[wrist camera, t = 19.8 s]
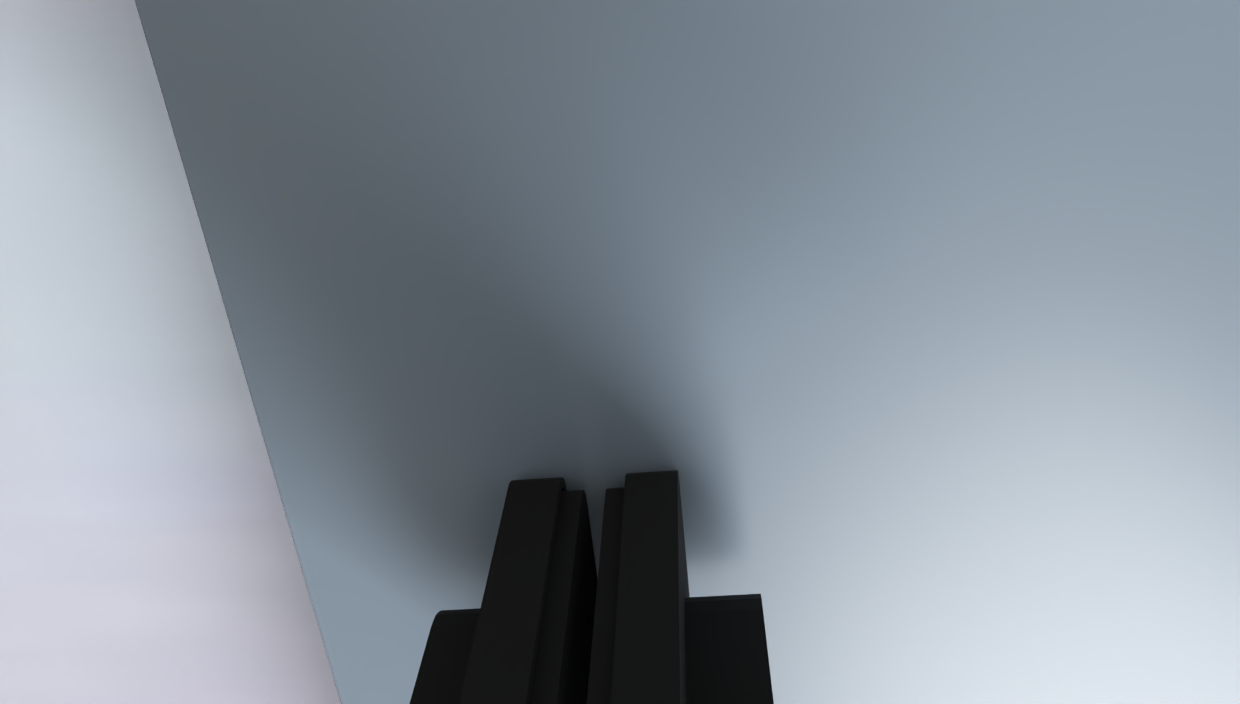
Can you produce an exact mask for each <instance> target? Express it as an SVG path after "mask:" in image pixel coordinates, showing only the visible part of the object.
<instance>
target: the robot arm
mask: <svg viewBox="0 0 1240 704" xmlns="http://www.w3.org/2000/svg"><path fill="white" fill-rule="evenodd" d="M410 704H774V701H773V693H772V684H771V675H770V666H769V658H768V649H767V640H766V631H765V623H764V614H763V606H762V598H761V594H744V595H725V596H706V597H690V595H689V583H688V572H687V561H686V550H685V539H684V528H683V516H682V505H681V494H680V483H679V474H678V470H672V471H656V472H640V473H626V475H625V486H624V487H623V488H607V489H606V492H605V502H604V513H603V525H602V536H601V547H600V558H599V570H598V580H597V572H596V565H595V557H594V550H593V542H592V535H591V528H590V520H589V513H588V505H587V499H586V494H585V491H584V490H573V491H567V489H566V483H565V480H564V478H563V477H558V478H542V479H526V480H512V481H510V483H509V486H508V490H507V494H506V498H505V503H504V507H503V512H502V516H501V520H500V525H499V529H498V534H497V538H496V542H495V547H494V551H493V556H492V560H491V565H490V569H489V573H488V578H487V582H486V587H485V591H484V595H483V600H482V604H481V608H477V609H458V610H440V611H439V612H438V613H437V614H436V615H435V618H434V620H433V623H432V625H431V629H430V632H429V636H428V639H427V643H426V647H425V650H424V654H423V657H422V661H421V664H420V668H419V672H418V675H417V679H416V682H415V686H414V689H413V693H412V696H411V700H410Z"/></svg>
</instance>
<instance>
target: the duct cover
mask: <svg viewBox="0 0 1240 704" xmlns="http://www.w3.org/2000/svg"><path fill="white" fill-rule="evenodd" d="M135 2H136V6H137V9H138V12H139V16H140V19H141V23H142V26H143V30H144V33H145V36H146V40H147V43H148V47H149V50H150V53H151V57H152V60H153V64H154V67H155V70H156V74H157V77H158V81H159V84H160V87H161V91H162V94H163V98H164V101H165V104H166V108H167V111H168V115H169V118H170V121H171V125H172V128H173V132H174V135H175V139H176V142H177V145H178V149H179V152H180V156H181V159H182V162H183V166H184V169H185V173H186V176H187V179H188V183H189V186H190V190H191V193H192V196H193V200H194V203H195V207H196V210H197V213H198V217H199V220H200V224H201V227H202V230H203V234H204V237H205V241H206V244H207V247H208V251H209V254H210V258H211V261H212V265H213V268H214V271H215V275H216V278H217V282H218V285H219V288H220V292H221V295H222V299H223V302H224V305H225V309H226V312H227V316H228V319H229V322H230V326H231V329H232V333H233V336H234V339H235V343H236V346H237V350H238V353H239V356H240V360H241V363H242V367H243V370H244V374H245V377H246V380H247V384H248V387H249V391H250V394H251V397H252V401H253V404H254V408H255V411H256V414H257V418H258V421H259V425H260V428H261V431H262V435H263V438H264V442H265V445H266V448H267V452H268V455H269V459H270V462H271V465H272V469H273V472H274V476H275V479H276V483H277V486H278V489H279V493H280V496H281V500H282V503H283V506H284V510H285V513H286V517H287V520H288V523H289V527H290V530H291V534H292V537H293V540H294V544H295V547H296V551H297V554H298V557H299V561H300V564H301V568H302V571H303V574H304V578H305V581H306V585H307V588H308V591H309V595H310V598H311V602H312V605H313V609H314V612H315V615H316V619H317V622H318V626H319V629H320V632H321V636H322V639H323V643H324V646H325V649H326V653H327V656H328V660H329V663H330V666H331V670H332V673H333V677H334V680H335V683H336V687H337V690H338V694H339V697H340V700H341V704H410V700H411V696H412V693H413V689H414V686H415V682H416V679H417V675H418V672H419V668H420V664H421V661H422V657H423V654H424V650H425V647H426V643H427V639H428V636H429V632H430V629H431V625H432V623H433V620H434V618H435V615H436V614H437V613H438V612H439V611H440V610H458V609H477V608H481V604H482V600H483V595H484V591H485V587H486V582H487V578H488V573H489V569H490V565H491V560H492V556H493V551H494V547H495V542H496V538H497V534H498V529H499V525H500V520H501V516H502V512H503V507H504V503H505V498H506V494H507V490H508V486H509V483H510V481H512V480H526V479H542V478H558V477H563V478H564V480H565V483H566V489H567V491H573V490H584V491H585V494H586V499H587V505H588V513H589V520H590V528H591V535H592V542H593V550H594V557H595V565H596V572H597V580H598V570H599V558H600V547H601V536H602V525H603V513H604V502H605V492H606V489H607V488H623V487H624V486H625V475H626V473H640V472H656V471H672V470H678V474H679V483H680V494H681V505H682V516H683V528H684V539H685V550H686V561H687V572H688V583H689V595H690V597H706V596H725V595H744V594H761V598H762V606H763V614H764V623H765V631H766V640H767V649H768V658H769V666H770V675H771V684H772V693H773V701H774V704H1240V0H135Z"/></svg>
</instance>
